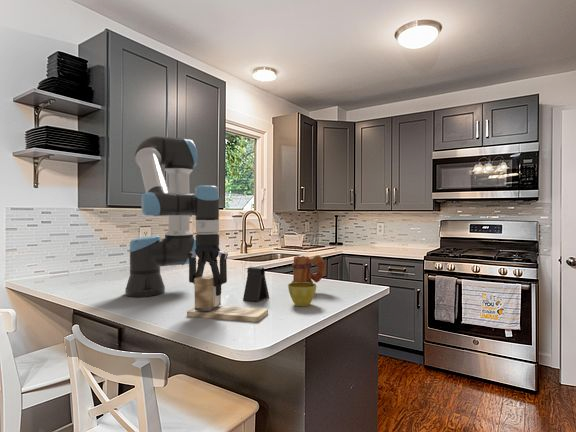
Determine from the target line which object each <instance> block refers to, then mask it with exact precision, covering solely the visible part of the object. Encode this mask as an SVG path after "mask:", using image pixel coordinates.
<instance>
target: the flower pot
mask: <svg viewBox="0 0 576 432" xmlns="http://www.w3.org/2000/svg"><path fill="white" fill-rule="evenodd" d="M287 287H288V293H289V296H290V298H291V300H292V302H293V304H294V306H297V307H308V306H310V304H311V303H312V302H313V299H314V297H315V294H316V291H317V284H316V283H314V282H313V283H308V282H294V283H291V282H290V283H288V284H287Z"/></svg>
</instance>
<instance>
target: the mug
mask: <svg viewBox="0 0 576 432" xmlns="http://www.w3.org/2000/svg"><path fill="white" fill-rule="evenodd" d="M312 264H313V265H315V266H316V267H318V268H317V272H316V274H314V273H311V268H313V265H312ZM291 268H292V269H293V270H292V271H293V274H292V275H293V277H292V278H293V280H292V281H291V282H290V283H294V282H308V283H314V282H315V283H318V282H320V281H321V280H322V279H323V277H324V275H325V272H326V263H325V260H324V258H323V257H322V256H321V255H318V254H317V255H314V256H313V257H312V258H310V257H309V256H305V255H303V256H301V255H300V256H294V257H293V263H292V264H291Z"/></svg>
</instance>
